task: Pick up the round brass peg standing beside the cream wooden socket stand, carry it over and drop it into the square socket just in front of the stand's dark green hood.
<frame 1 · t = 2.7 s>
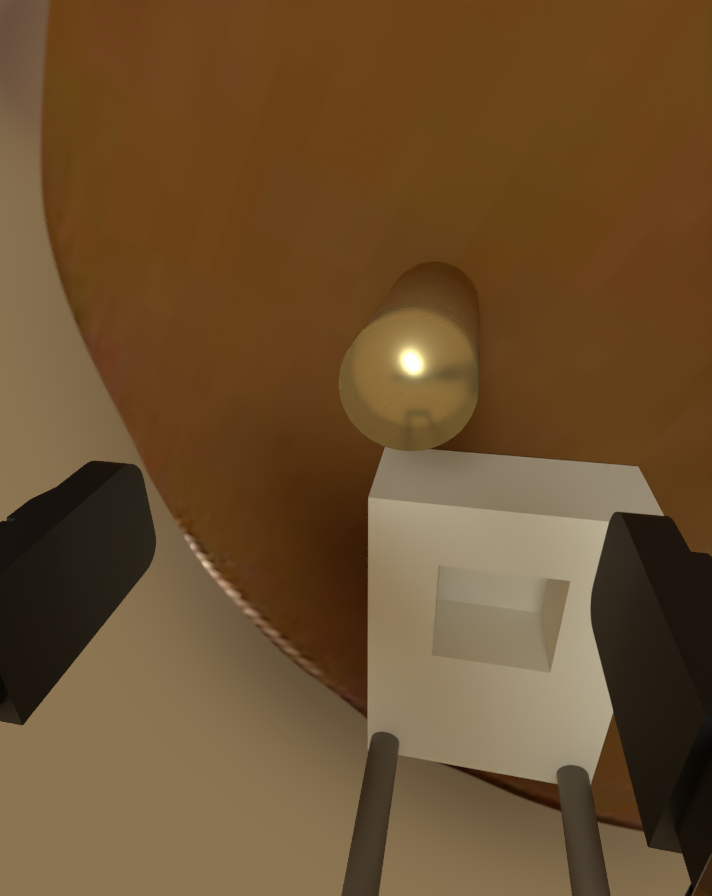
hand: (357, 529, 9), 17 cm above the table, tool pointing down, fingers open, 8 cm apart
socket stand: (489, 582, 30), on the table
brass peg: (432, 308, 24), on the table
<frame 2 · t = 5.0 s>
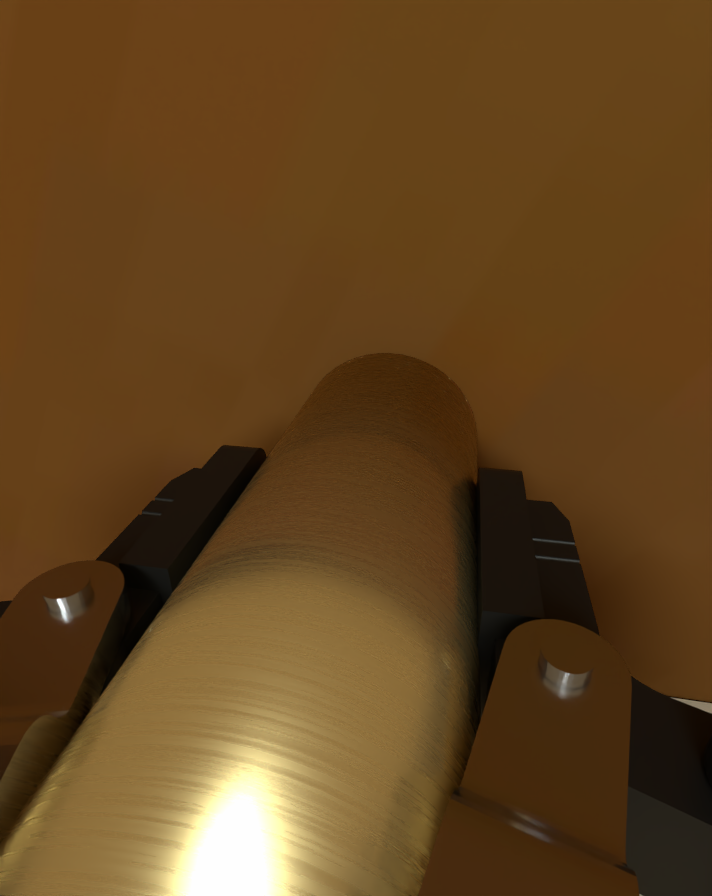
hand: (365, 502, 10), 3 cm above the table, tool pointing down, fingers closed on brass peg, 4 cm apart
brass peg: (387, 437, 13), on the table, touching gripper
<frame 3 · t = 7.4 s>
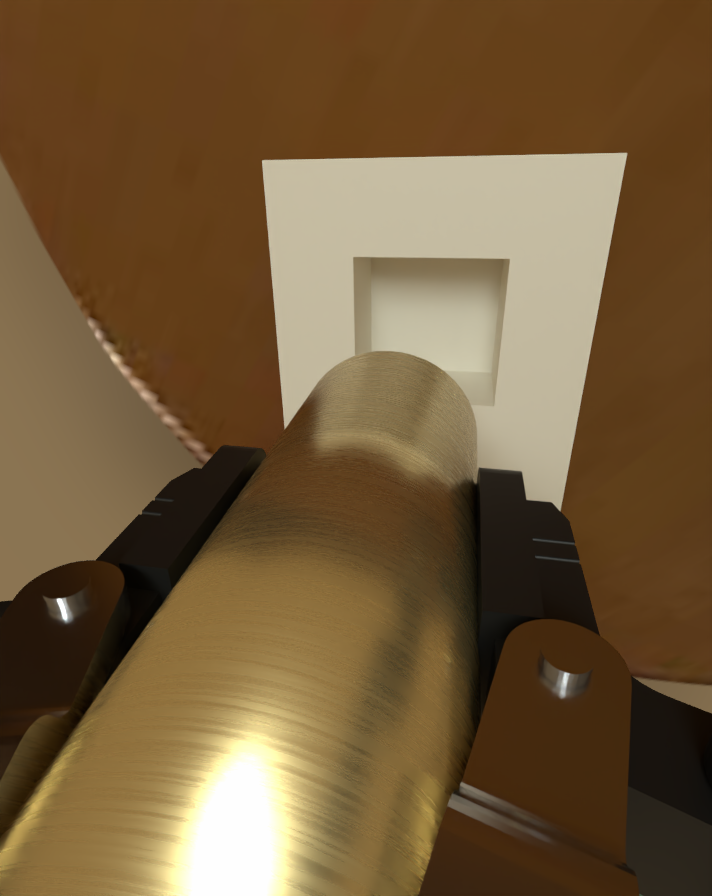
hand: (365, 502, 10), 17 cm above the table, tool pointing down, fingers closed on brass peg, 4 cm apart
socket stand: (432, 346, 26), on the table
brass peg: (387, 435, 13), point 14 cm above the table, touching gripper
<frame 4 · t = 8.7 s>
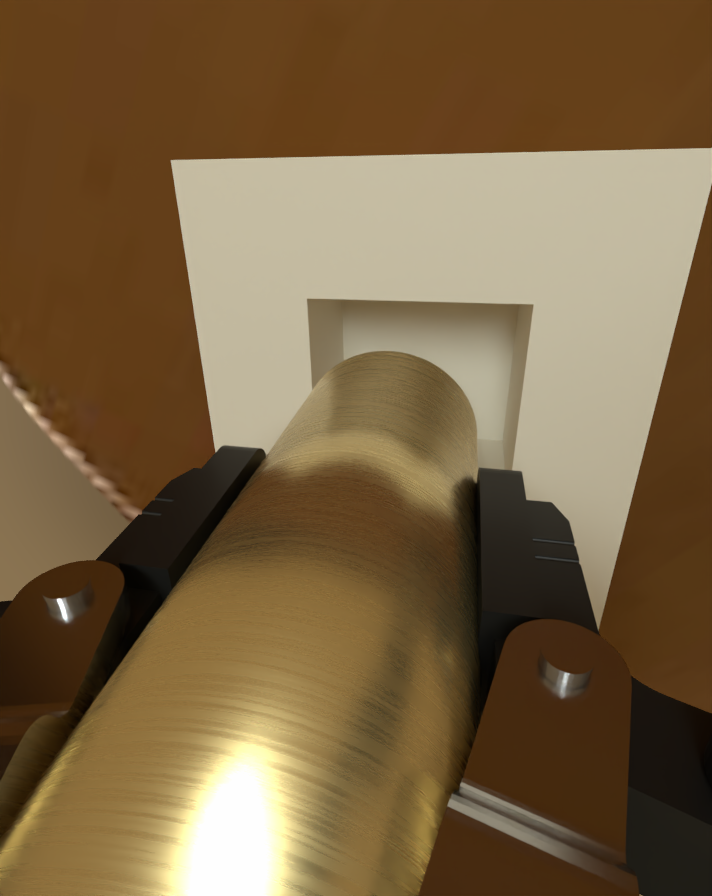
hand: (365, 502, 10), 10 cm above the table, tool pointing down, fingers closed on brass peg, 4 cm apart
socket stand: (425, 403, 20), on the table
brass peg: (387, 435, 13), point 8 cm above the table, touching gripper
when the fingers open (6 cm above the table, at t = 9.8 s): brass peg drops 2 cm, resting on socket stand.
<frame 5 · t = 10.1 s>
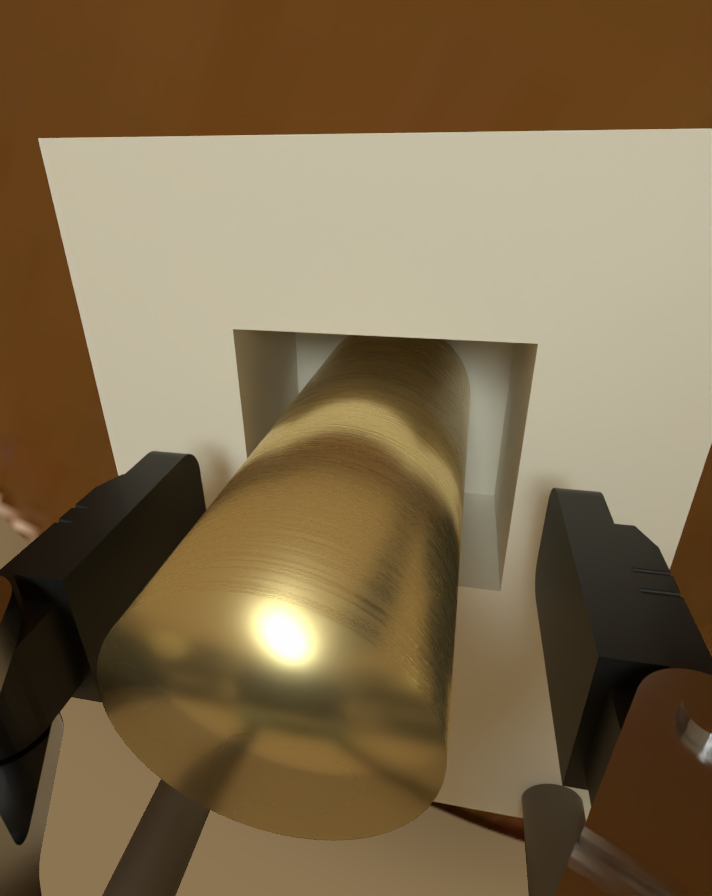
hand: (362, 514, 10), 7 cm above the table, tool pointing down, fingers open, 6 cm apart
socket stand: (401, 446, 17), on the table
brass peg: (394, 394, 15), point 1 cm above the table, touching socket stand
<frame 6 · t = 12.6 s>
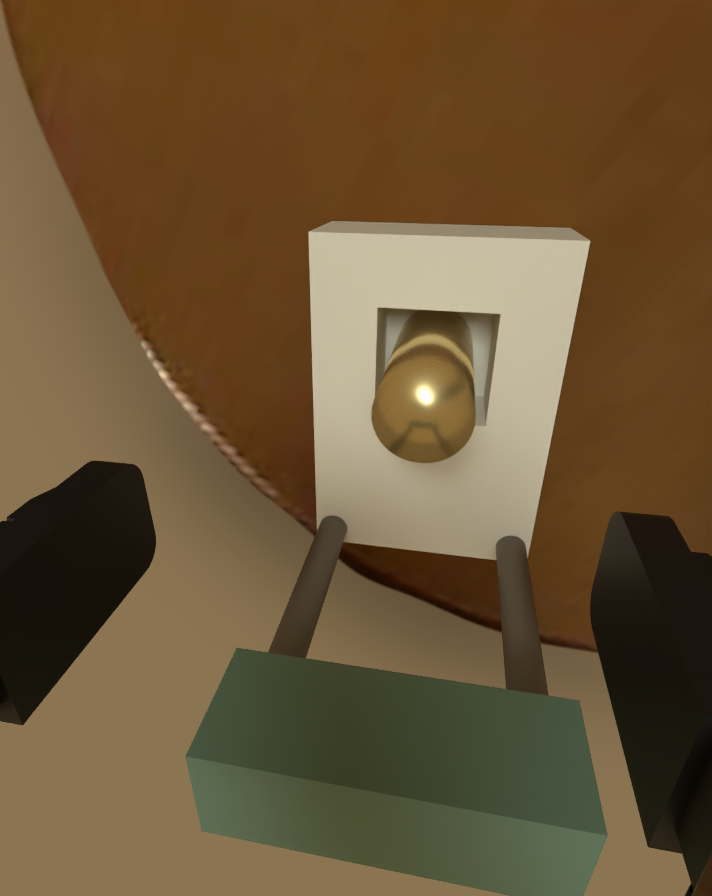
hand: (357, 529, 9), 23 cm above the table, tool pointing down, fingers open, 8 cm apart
socket stand: (435, 373, 32), on the table
brass peg: (434, 343, 30), point 1 cm above the table, touching socket stand
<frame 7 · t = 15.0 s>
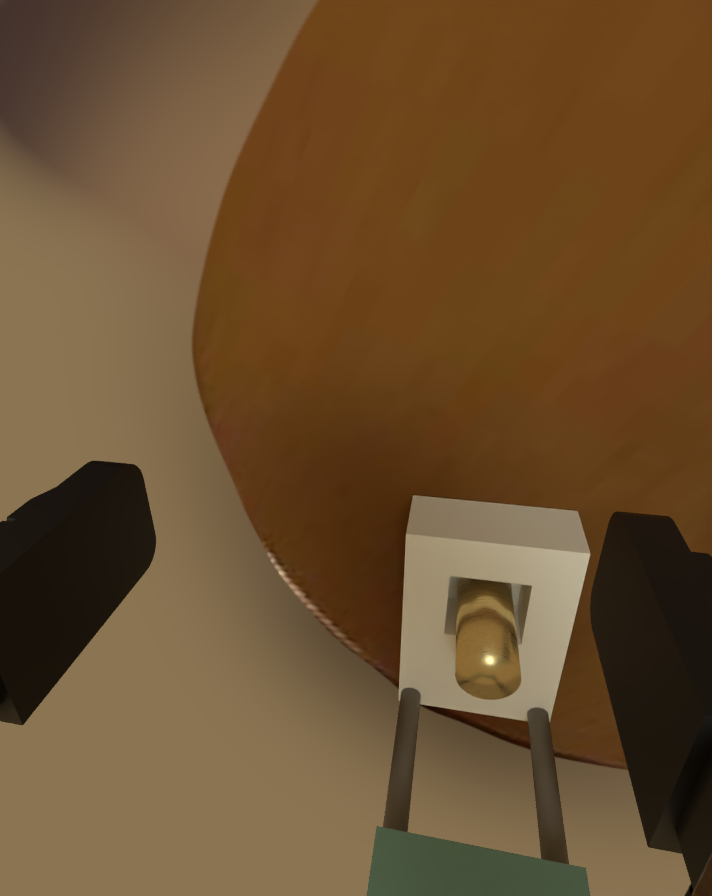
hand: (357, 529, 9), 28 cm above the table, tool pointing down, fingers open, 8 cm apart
socket stand: (482, 585, 45), on the table
brass peg: (483, 573, 43), point 1 cm above the table, touching socket stand
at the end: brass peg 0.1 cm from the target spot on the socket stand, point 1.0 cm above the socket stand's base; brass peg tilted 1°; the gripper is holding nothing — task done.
